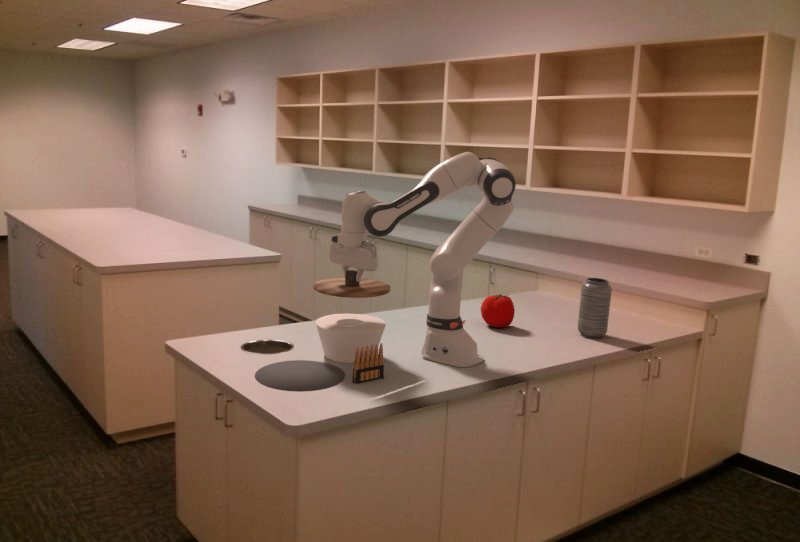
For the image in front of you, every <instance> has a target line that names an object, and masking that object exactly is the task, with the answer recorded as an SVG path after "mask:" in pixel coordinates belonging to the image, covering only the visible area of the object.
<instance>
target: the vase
mask: <svg viewBox="0 0 800 542" xmlns="http://www.w3.org/2000/svg"><path fill="white" fill-rule="evenodd" d="M612 291H613V289H612V286H611V285H610V282H609V280H608V279H605V278H599V277H588V278H586V280H585V281H584V282H583V284H582V285H581V291H580V298H579V299H580V300H579V307H578V308H579V311H578V319H577V331H578V332H579V333H580V335H581V336H582V337H584V338H589V339H602V338H603V337H604V336H605V335H606V334H607V332H608V326H609V325H608V324H609V316H610V310H611V300H612Z"/></svg>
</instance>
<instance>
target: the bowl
mask: <svg viewBox="0 0 800 542" xmlns="http://www.w3.org/2000/svg"><path fill="white" fill-rule="evenodd" d="M315 324H316V329H317V331H318V336H319V340H320V343H321V347H322V350H323V355H324V357H325V358H327V359H329V360H330V361H335V362H339V363H349V364H351V363H352V364H354V361H355V354H356V349H357V347H358V348H359V359H360V352H361V348H362V346H363V348H364V358H365V350H366V347H367V345H368V348H369V356H370V348H371V345H373V349H374V351H375V346H376V344H377V345H378V347H380V344H381V340H382V336H383V334H384V331H385V328H386V325H387V324H386V322H385V320H383V319H382V318H379V317H376V316H373V315H368V314H362V313H361V314H360V313H334V314H333V313H332V314H328V315H324V316H321V317H319V318H317V319H316V320H315Z"/></svg>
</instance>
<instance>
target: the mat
mask: <svg viewBox="0 0 800 542" xmlns="http://www.w3.org/2000/svg"><path fill="white" fill-rule="evenodd" d="M254 378H255V380H256V381H257V382H258V383H259V384H260V385H263V386H264V387H267V388H271V389H274V390H279V391H284V392H286V391H287V392H314V391H321V390H326V389H329V388H332V387H335V386H337V385H339V384H341V383H342V382H343V381H344V380H345V379H346V373H345V371H344V370H343V369H342V368H340V367H339V366H336V365H334V364H330V363H327V362H322V361H318V360H317V361H316V360H305V359H304V360H303V359H300V360H299V359H298V360H297V359H296V360H293V359H292V360H286V361H285V360H284V361H277V362H274V363H273V362H272V363H270V364H267V365H264V366H263V367H260V368H259V369H258V370H256V372H255V373H254Z"/></svg>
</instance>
